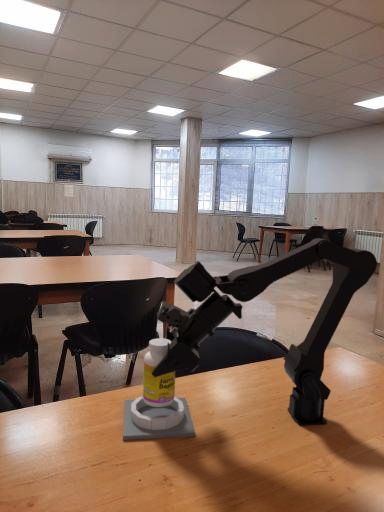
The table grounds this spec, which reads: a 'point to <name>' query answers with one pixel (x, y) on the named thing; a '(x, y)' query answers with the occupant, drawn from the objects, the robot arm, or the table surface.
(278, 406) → the table surface
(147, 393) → the supplement bottle
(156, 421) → the socket plate
